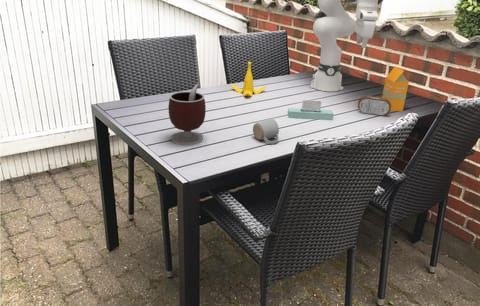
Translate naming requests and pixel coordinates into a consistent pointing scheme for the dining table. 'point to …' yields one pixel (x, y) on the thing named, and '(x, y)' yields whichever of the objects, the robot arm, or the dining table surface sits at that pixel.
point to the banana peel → (248, 84)
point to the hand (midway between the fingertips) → (360, 45)
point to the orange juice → (396, 89)
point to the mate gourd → (187, 116)
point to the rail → (310, 114)
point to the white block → (311, 105)
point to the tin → (374, 105)
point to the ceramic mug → (266, 130)
